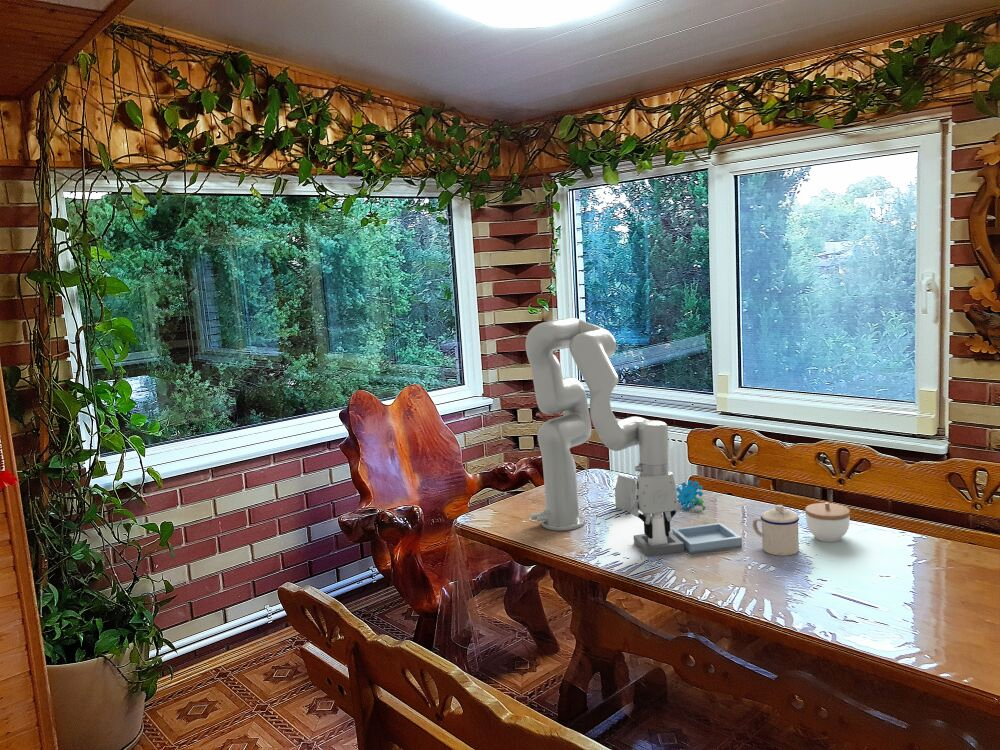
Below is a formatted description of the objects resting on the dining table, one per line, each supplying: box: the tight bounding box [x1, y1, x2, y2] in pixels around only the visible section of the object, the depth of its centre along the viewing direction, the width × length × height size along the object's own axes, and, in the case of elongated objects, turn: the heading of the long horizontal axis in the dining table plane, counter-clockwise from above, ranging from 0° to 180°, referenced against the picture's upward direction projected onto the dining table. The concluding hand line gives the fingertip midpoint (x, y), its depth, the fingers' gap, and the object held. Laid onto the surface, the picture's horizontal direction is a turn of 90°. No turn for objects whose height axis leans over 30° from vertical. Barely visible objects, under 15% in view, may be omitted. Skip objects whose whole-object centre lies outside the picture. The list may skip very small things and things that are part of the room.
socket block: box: [633, 531, 685, 557], centre depth 200 cm, size 10×10×2 cm
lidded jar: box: [804, 502, 851, 543], centre depth 197 cm, size 11×11×9 cm
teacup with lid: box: [752, 504, 800, 557], centre depth 193 cm, size 12×9×12 cm
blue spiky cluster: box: [676, 479, 707, 511], centre depth 230 cm, size 11×6×10 cm
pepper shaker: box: [648, 513, 668, 546], centre depth 199 cm, size 5×5×11 cm
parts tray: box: [671, 522, 743, 555], centre depth 201 cm, size 14×12×2 cm
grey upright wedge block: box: [614, 474, 640, 513], centre depth 232 cm, size 4×7×10 cm, turn 35°
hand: (657, 535), depth 200 cm, fingers closed on pepper shaker, 3 cm apart
